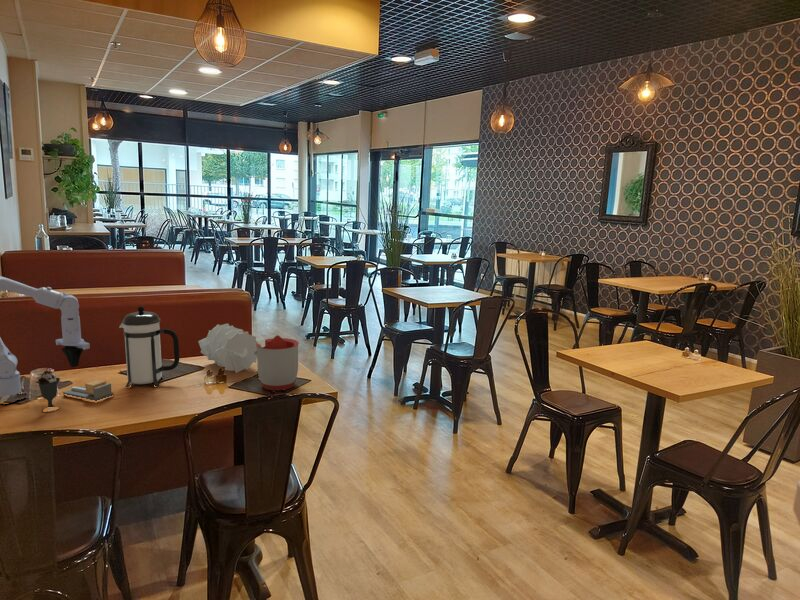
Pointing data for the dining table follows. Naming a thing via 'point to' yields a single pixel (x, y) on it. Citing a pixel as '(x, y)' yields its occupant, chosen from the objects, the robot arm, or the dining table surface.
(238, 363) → the white ruffled oval piece
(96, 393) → the track
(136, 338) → the coffee press
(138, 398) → the dining table surface
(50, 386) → the sundae
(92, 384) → the sliding carriage
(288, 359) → the citrus juicer
